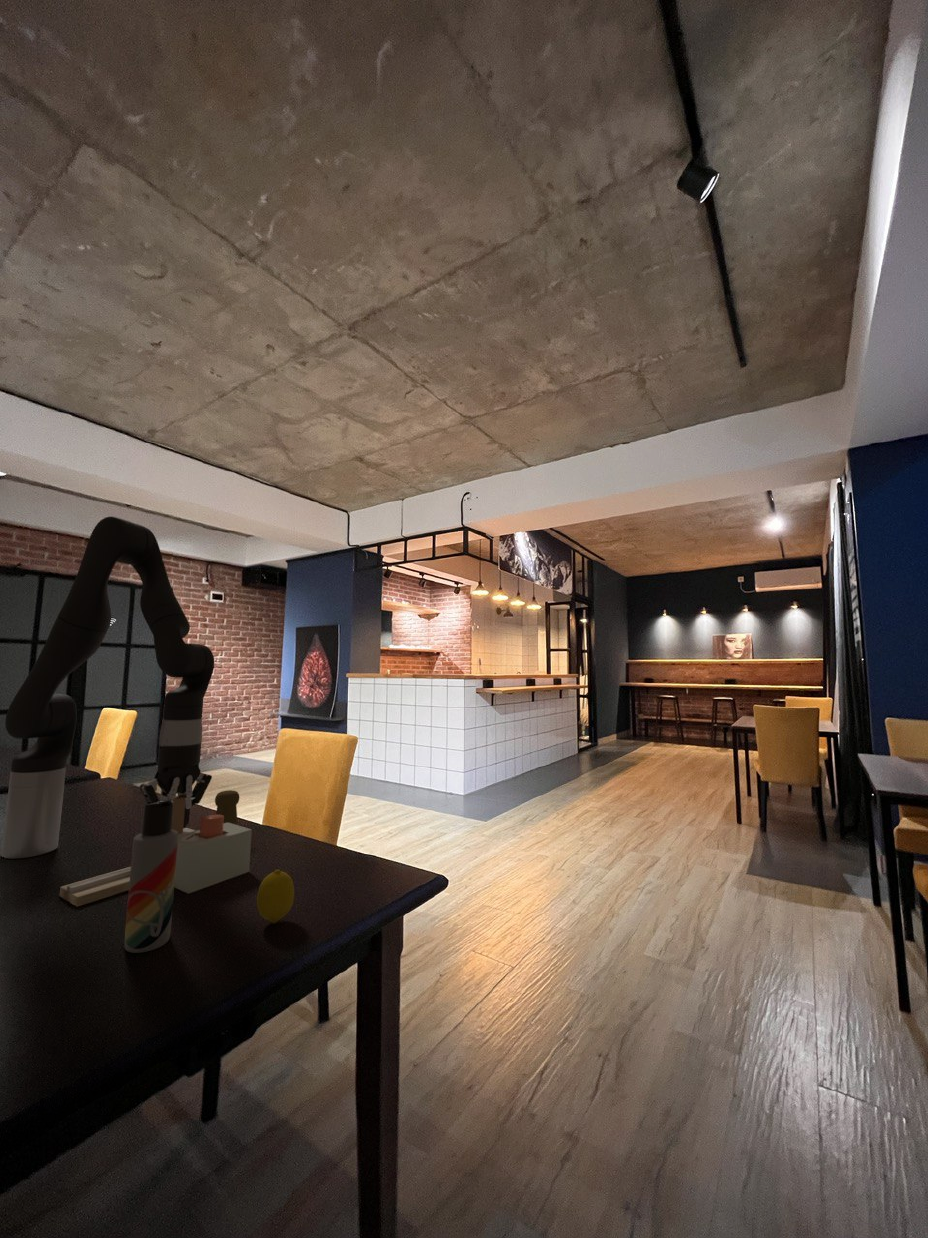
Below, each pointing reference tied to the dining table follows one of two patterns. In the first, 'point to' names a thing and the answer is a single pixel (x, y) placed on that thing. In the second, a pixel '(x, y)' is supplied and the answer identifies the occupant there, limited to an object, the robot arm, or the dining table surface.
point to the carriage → (179, 816)
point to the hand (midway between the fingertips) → (173, 829)
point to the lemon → (275, 896)
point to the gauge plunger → (211, 826)
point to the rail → (96, 887)
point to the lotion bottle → (152, 880)
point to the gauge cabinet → (211, 857)
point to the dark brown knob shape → (227, 805)
